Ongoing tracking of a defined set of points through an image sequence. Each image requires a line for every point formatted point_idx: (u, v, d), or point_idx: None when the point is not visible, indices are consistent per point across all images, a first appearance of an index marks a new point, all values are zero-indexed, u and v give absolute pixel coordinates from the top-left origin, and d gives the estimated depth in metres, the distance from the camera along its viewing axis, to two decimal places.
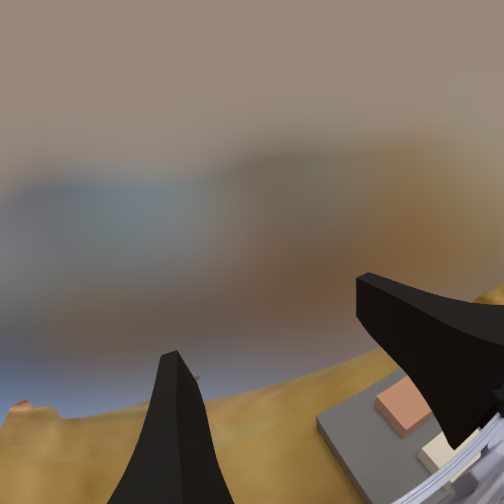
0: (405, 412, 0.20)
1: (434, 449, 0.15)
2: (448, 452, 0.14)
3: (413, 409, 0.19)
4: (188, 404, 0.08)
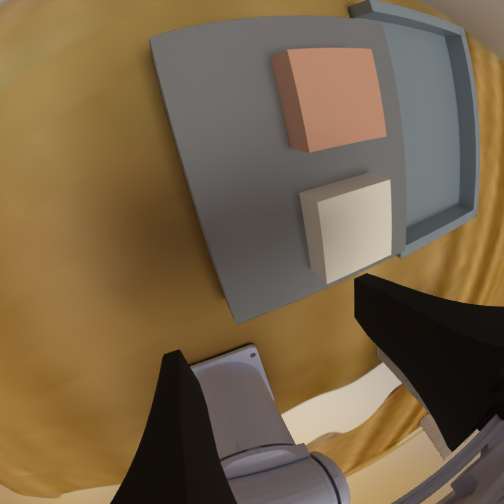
0: (322, 116, 0.12)
1: (332, 215, 0.14)
2: (345, 230, 0.15)
3: (337, 119, 0.12)
4: (191, 403, 0.08)
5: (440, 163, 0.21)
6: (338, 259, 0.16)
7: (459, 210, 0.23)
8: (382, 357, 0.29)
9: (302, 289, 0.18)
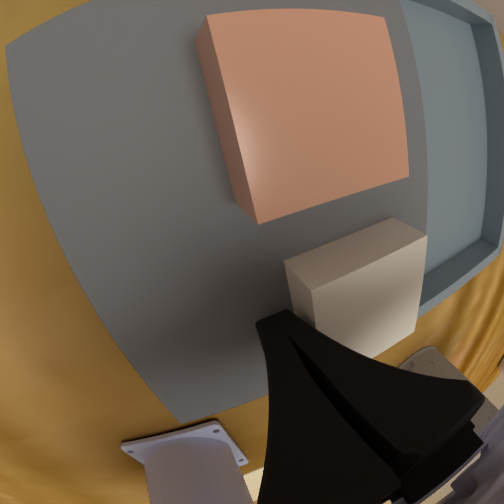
0: (287, 147, 0.06)
1: (335, 304, 0.09)
2: (354, 320, 0.09)
3: (318, 150, 0.06)
4: None
5: (464, 191, 0.16)
6: None
7: (481, 249, 0.18)
8: None
9: (267, 386, 0.12)
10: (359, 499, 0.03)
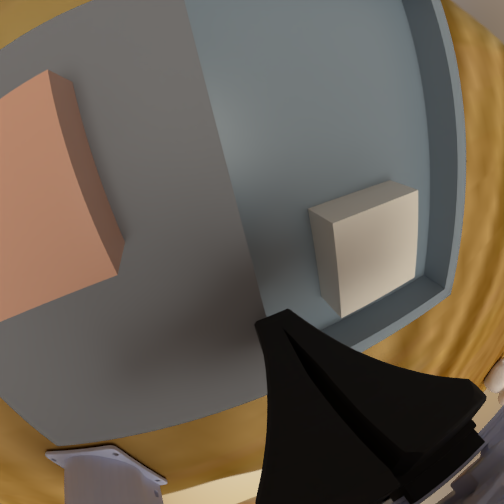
0: None
1: None
2: None
3: None
4: None
5: None
6: None
7: (420, 291, 0.16)
8: None
9: (111, 432, 0.11)
10: (357, 500, 0.03)
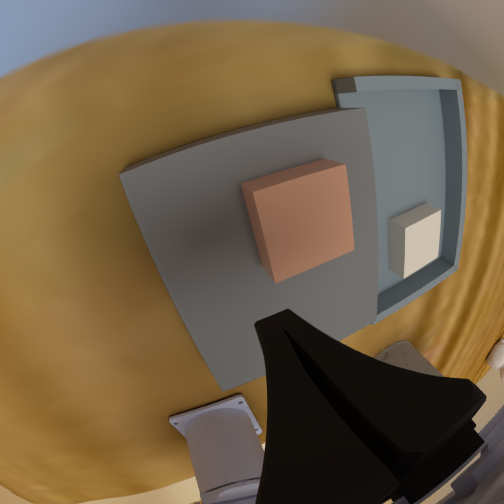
0: (288, 250, 0.14)
1: None
2: None
3: (303, 248, 0.14)
4: None
5: None
6: None
7: (439, 267, 0.26)
8: None
9: None
10: (357, 500, 0.03)
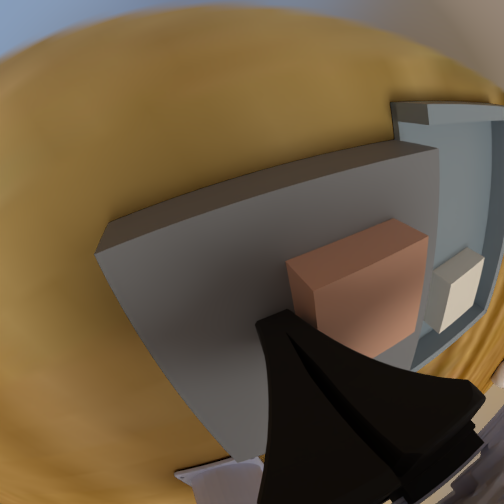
0: None
1: None
2: None
3: (362, 345, 0.10)
4: None
5: None
6: None
7: (469, 311, 0.21)
8: None
9: None
10: (359, 499, 0.03)
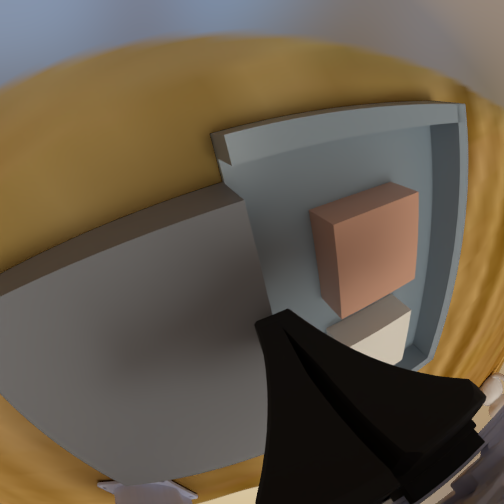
0: None
1: None
2: None
3: None
4: None
5: None
6: None
7: (407, 360, 0.20)
8: None
9: (175, 475, 0.15)
10: (357, 500, 0.03)
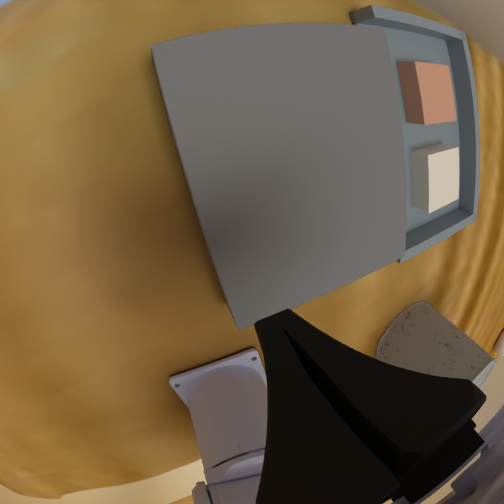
0: None
1: None
2: None
3: None
4: None
5: None
6: None
7: (459, 214, 0.23)
8: (382, 360, 0.30)
9: (303, 295, 0.18)
10: (357, 500, 0.03)
